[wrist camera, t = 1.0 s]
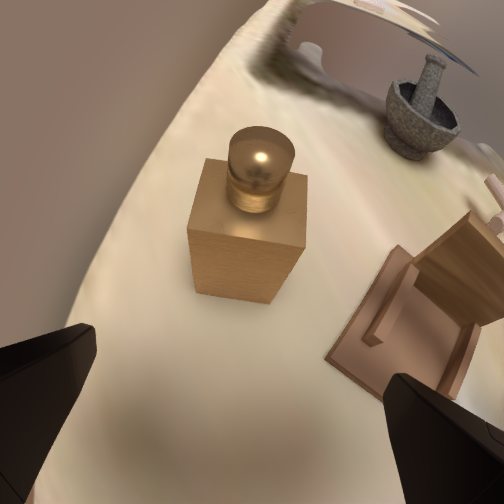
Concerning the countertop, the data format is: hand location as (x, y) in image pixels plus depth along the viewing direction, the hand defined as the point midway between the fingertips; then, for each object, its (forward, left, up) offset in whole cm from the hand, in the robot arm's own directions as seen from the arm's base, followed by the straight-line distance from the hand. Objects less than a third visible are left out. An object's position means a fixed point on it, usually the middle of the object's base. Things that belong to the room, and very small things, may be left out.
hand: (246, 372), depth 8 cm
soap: (+103, +6, -14) cm, 104 cm away
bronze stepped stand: (+9, -13, -13) cm, 20 cm away
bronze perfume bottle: (+8, +3, -13) cm, 16 cm away
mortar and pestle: (+34, -8, -13) cm, 37 cm away
